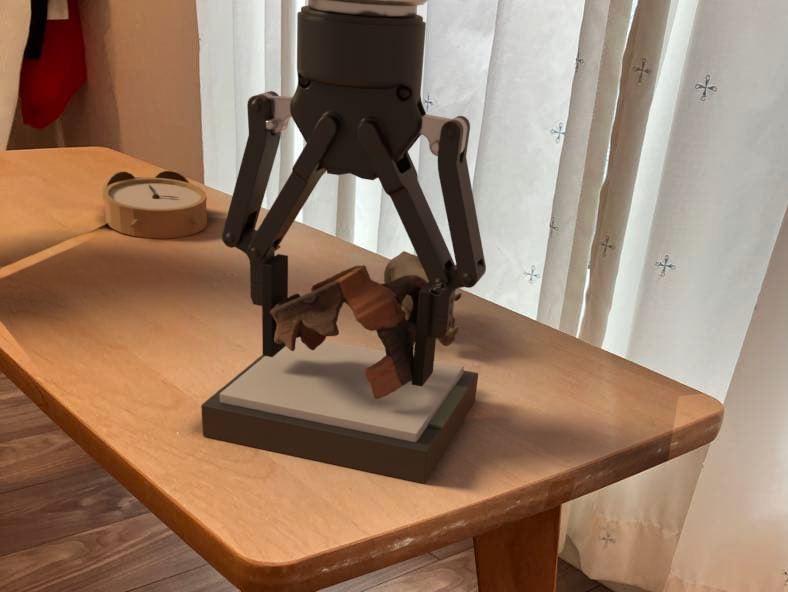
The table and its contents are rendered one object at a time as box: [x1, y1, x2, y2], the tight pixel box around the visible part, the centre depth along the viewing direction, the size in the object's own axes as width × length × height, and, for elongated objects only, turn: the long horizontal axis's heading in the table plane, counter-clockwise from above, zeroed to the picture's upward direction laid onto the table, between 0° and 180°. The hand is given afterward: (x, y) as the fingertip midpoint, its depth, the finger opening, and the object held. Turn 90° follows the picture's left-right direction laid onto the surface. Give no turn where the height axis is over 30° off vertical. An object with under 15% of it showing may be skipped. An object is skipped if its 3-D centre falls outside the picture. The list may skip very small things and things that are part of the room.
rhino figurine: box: [383, 250, 462, 347], centre depth 83 cm, size 4×14×6 cm, turn 21°
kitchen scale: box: [200, 337, 479, 484], centre depth 68 cm, size 16×14×3 cm
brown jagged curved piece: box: [270, 264, 427, 399], centre depth 66 cm, size 12×10×8 cm
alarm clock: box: [101, 169, 208, 239], centre depth 108 cm, size 11×5×15 cm
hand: (347, 364), depth 67 cm, fingers closed on brown jagged curved piece, 10 cm apart
